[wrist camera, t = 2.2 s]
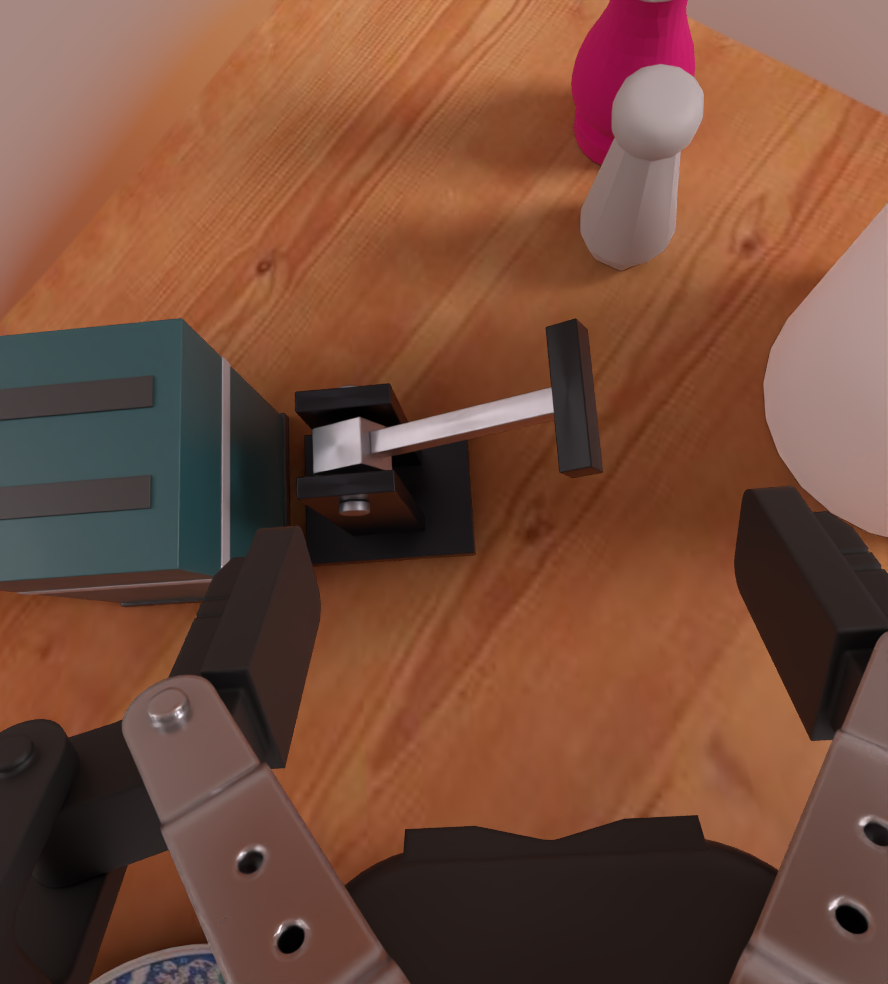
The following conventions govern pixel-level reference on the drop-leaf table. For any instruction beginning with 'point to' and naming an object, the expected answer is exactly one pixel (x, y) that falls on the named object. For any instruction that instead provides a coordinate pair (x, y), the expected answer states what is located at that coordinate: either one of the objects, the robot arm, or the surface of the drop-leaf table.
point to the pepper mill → (624, 61)
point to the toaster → (131, 463)
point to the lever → (484, 419)
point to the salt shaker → (642, 167)
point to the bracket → (383, 490)
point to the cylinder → (838, 385)
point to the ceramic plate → (168, 968)
